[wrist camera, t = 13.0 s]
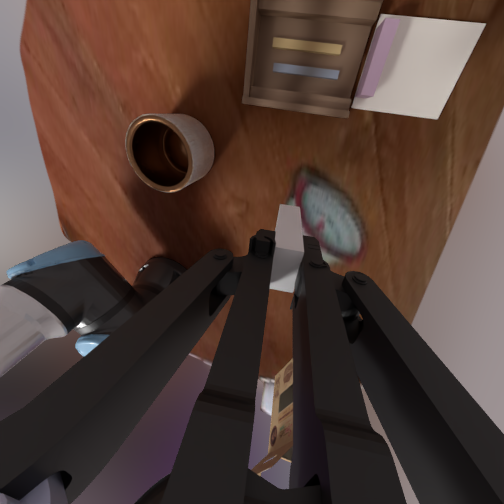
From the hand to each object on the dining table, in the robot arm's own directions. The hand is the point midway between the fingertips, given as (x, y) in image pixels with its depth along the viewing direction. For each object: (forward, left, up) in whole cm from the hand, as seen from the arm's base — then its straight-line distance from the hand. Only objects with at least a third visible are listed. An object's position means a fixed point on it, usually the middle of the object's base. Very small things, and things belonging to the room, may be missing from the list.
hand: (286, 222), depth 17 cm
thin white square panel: (+13, +14, -25) cm, 31 cm away
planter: (-20, 0, -25) cm, 32 cm away
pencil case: (-2, +14, -25) cm, 28 cm away
